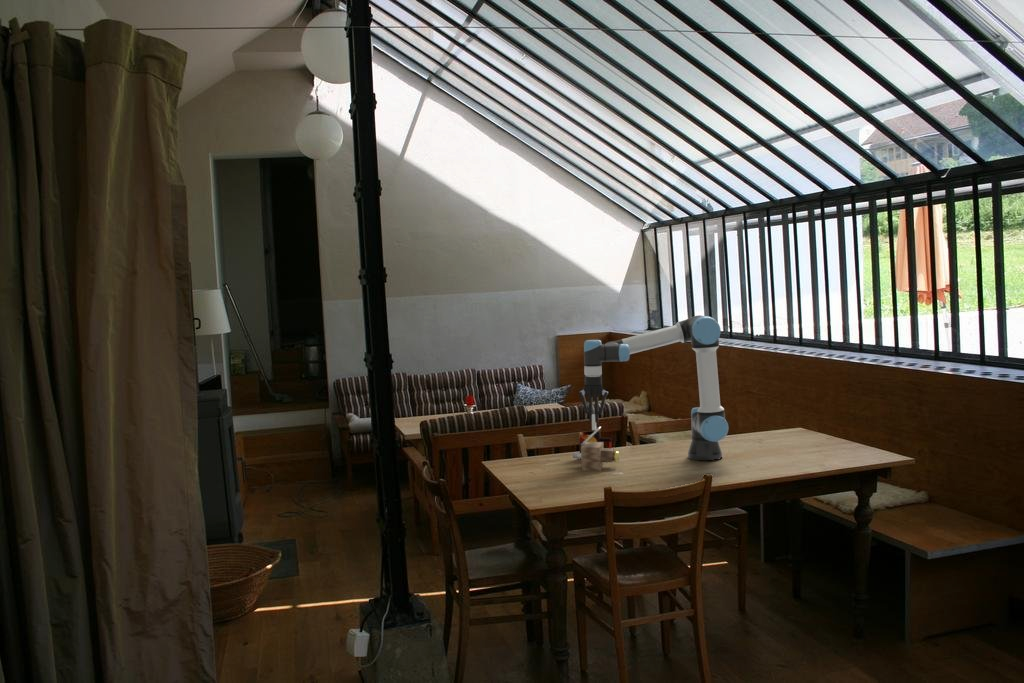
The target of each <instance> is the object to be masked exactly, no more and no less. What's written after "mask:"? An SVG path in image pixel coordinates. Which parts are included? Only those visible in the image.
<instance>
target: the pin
mask: <svg viewBox="0 0 1024 683" xmlns="http://www.w3.org/2000/svg"><path fill="white" fill-rule="evenodd" d="M572 459H579V460H580V459H581V453H580V452H572ZM613 462H614V463H619V462H620V451H617V450H616V451H615V450H614V453H613Z"/></svg>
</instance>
